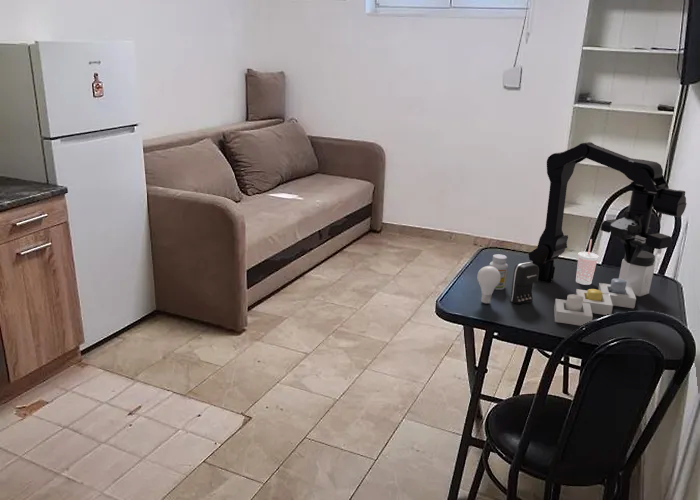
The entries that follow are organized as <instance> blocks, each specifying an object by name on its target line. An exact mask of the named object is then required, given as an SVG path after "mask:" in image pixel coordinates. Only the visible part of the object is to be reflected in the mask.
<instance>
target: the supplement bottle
mask: <svg viewBox="0 0 700 500" xmlns="http://www.w3.org/2000/svg"><path fill="white" fill-rule="evenodd" d="M507 259H508V257H507V256H506V255H504V254H501V253H500V254H499V253H498V254H493V255H492V261H490V263H489V265H488V266H493V267H495V268H497V269H498V271H499V272H500V275H501V280H500V283H499V284H498V285H497V286H496V288H495V289H494V291H495V290H497V291H498V290H504V289H505V288H506V282H507V277H508V268H509V265H508V263H506V262H507Z"/></svg>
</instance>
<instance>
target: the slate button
mask: <svg viewBox="0 0 700 500" xmlns="http://www.w3.org/2000/svg"><path fill="white" fill-rule="evenodd" d="M610 281H611V282H610V284H611V286H610V291H609V292H610V293H617V294H624V293H625V288H626V283H627V282H626V281H625V280H622V279H619V278H612V279H611V280H610Z"/></svg>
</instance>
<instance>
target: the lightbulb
mask: <svg viewBox="0 0 700 500" xmlns="http://www.w3.org/2000/svg"><path fill="white" fill-rule="evenodd" d="M476 277H477V278H476V279H477V283H478V284H479V286H480V291H481V298H480V301H481V302H482V303H483V304H485V305H487V304H490V303H491V302H492V294H493V293H494V291H495V288H496V286H497V285H498V284H499V283H500V280H501V275H500V272H499V271H498V269H497V268H495V267H493V266H489V265H486V266H483V267H481V268H480V269H479V270H478V272H477V276H476Z"/></svg>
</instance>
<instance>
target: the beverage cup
mask: <svg viewBox="0 0 700 500" xmlns="http://www.w3.org/2000/svg"><path fill="white" fill-rule="evenodd" d="M592 242H593V239H592V238H590V240H589V245H588V250H587V251H579V252H578V253H577V257H578V258H577V266H576V275H575V276H576V277H575V283H577V284H580V285H585V286H588V285H589V286H590V285H591V284H592V283H593V278H594V274H595V270H596V266H597V262H598V261H599V259H600V255H598V254H596V253H594V252H592V251H591V248H592Z"/></svg>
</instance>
